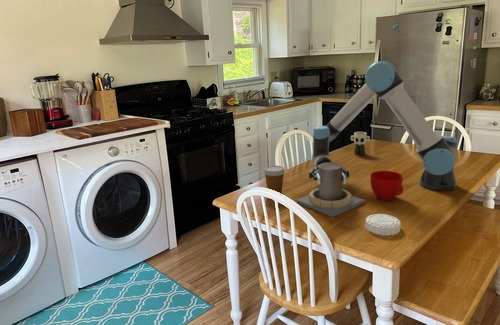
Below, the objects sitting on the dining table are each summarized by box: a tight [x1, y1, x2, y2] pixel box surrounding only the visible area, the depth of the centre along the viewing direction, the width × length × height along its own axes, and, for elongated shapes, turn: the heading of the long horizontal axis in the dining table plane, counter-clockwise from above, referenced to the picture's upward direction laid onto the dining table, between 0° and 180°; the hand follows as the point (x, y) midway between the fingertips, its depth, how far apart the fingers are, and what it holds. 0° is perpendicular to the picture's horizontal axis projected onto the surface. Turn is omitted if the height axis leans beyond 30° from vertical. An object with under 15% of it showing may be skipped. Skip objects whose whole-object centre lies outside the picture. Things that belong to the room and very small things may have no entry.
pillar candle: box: [318, 161, 343, 201], centre depth 159 cm, size 10×10×15 cm
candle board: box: [295, 187, 365, 218], centre depth 161 cm, size 20×20×4 cm
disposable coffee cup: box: [263, 165, 286, 193], centre depth 174 cm, size 10×10×12 cm
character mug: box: [350, 131, 371, 155], centre depth 230 cm, size 11×7×13 cm, turn 66°
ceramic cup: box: [370, 170, 404, 201], centre depth 161 cm, size 13×17×10 cm
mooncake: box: [364, 213, 402, 237], centre depth 137 cm, size 12×12×4 cm
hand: (332, 180), depth 154 cm, fingers closed on pillar candle, 9 cm apart
